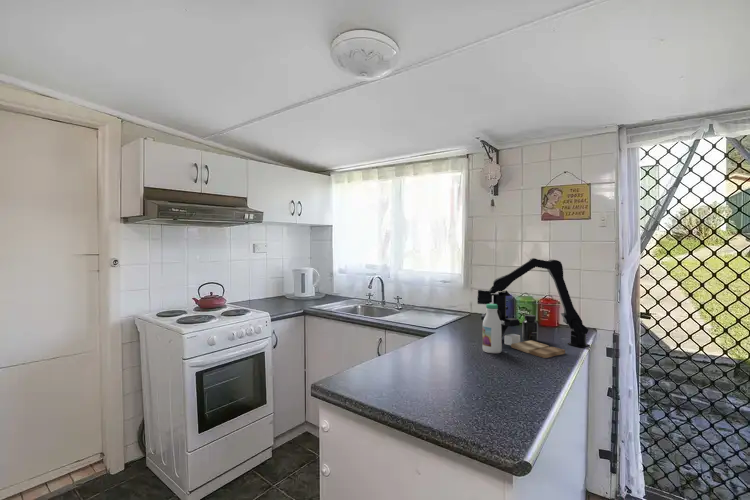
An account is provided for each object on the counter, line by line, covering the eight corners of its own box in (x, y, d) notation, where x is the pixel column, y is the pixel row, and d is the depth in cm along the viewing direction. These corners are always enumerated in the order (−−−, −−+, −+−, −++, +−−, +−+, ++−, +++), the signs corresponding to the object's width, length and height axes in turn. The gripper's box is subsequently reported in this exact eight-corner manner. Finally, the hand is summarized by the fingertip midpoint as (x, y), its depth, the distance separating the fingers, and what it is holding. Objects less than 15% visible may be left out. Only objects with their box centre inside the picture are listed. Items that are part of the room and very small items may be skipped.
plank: (531, 343, 161) (531, 340, 161) (548, 349, 153) (548, 345, 153) (511, 347, 155) (511, 343, 155) (528, 353, 147) (528, 349, 147)
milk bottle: (499, 348, 154) (498, 303, 154) (503, 354, 146) (503, 305, 146) (480, 348, 154) (480, 302, 154) (484, 353, 147) (484, 305, 147)
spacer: (512, 342, 165) (512, 333, 165) (520, 344, 162) (520, 335, 162) (504, 344, 162) (504, 335, 162) (511, 346, 158) (511, 337, 158)
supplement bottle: (535, 343, 163) (535, 317, 163) (520, 341, 167) (520, 315, 167) (539, 340, 168) (539, 315, 168) (524, 338, 172) (524, 313, 172)
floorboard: (550, 349, 152) (550, 346, 152) (565, 353, 146) (565, 350, 146) (529, 353, 146) (529, 350, 146) (544, 358, 140) (544, 354, 140)
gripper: (473, 303, 173) (473, 335, 173) (503, 309, 156) (503, 344, 156) (489, 301, 178) (489, 332, 178) (520, 307, 161) (520, 341, 161)
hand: (499, 337), depth 168 cm, fingers closed
